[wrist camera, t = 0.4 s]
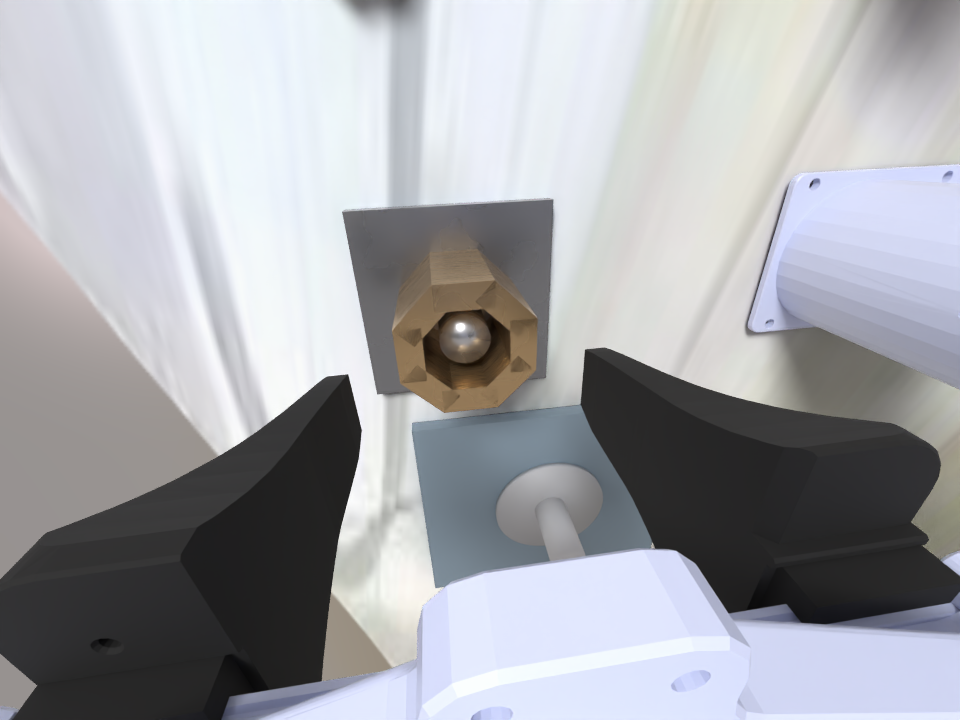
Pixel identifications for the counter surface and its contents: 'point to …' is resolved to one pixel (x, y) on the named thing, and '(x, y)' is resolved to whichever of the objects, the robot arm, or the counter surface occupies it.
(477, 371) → the octagonal wooden tube
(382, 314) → the square plate with knob
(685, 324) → the counter surface
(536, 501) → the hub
